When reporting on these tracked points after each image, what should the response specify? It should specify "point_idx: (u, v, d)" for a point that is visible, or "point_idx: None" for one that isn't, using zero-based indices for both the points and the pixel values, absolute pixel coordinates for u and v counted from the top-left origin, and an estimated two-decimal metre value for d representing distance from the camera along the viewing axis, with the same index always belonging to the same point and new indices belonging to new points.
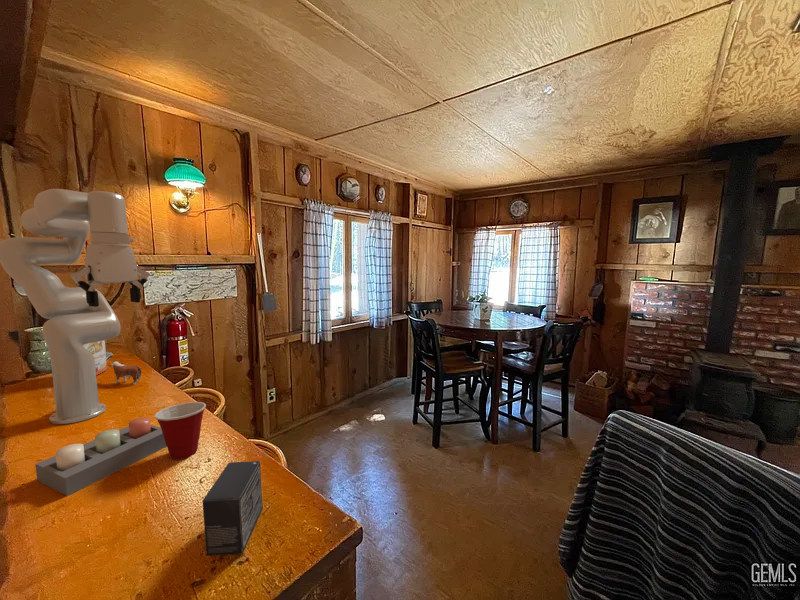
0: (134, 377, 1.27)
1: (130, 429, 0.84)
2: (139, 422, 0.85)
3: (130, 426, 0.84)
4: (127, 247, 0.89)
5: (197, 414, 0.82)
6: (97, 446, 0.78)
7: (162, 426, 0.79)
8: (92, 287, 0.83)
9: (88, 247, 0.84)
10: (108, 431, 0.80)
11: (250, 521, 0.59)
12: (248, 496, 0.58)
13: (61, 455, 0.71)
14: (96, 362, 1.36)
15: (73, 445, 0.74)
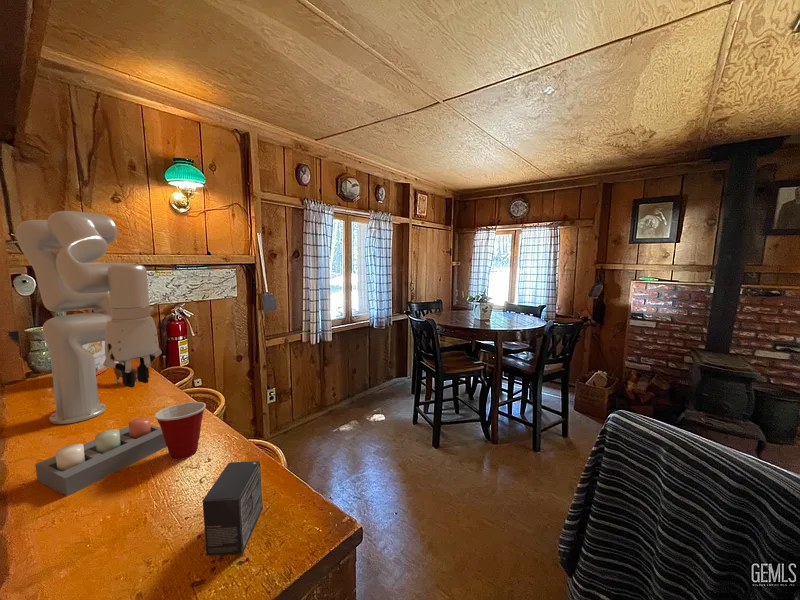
0: (134, 377, 1.27)
1: (130, 429, 0.84)
2: (139, 422, 0.85)
3: (130, 426, 0.84)
4: (148, 319, 0.84)
5: (197, 414, 0.82)
6: (97, 446, 0.78)
7: (162, 426, 0.79)
8: (128, 368, 0.82)
9: (108, 324, 0.79)
10: (108, 431, 0.80)
11: (250, 521, 0.59)
12: (248, 496, 0.58)
13: (61, 455, 0.71)
14: (96, 362, 1.36)
15: (73, 445, 0.74)
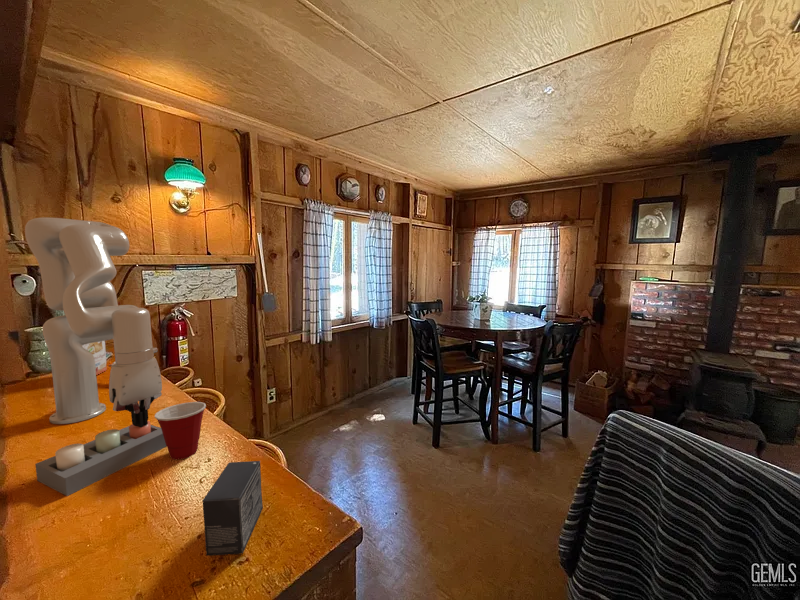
0: None
1: (130, 433, 0.84)
2: None
3: (130, 430, 0.84)
4: (152, 361, 0.85)
5: (197, 414, 0.82)
6: (97, 446, 0.78)
7: (162, 426, 0.79)
8: (138, 409, 0.84)
9: (113, 369, 0.80)
10: (108, 431, 0.80)
11: (250, 521, 0.59)
12: (248, 496, 0.58)
13: (61, 455, 0.71)
14: (96, 362, 1.36)
15: (73, 445, 0.74)
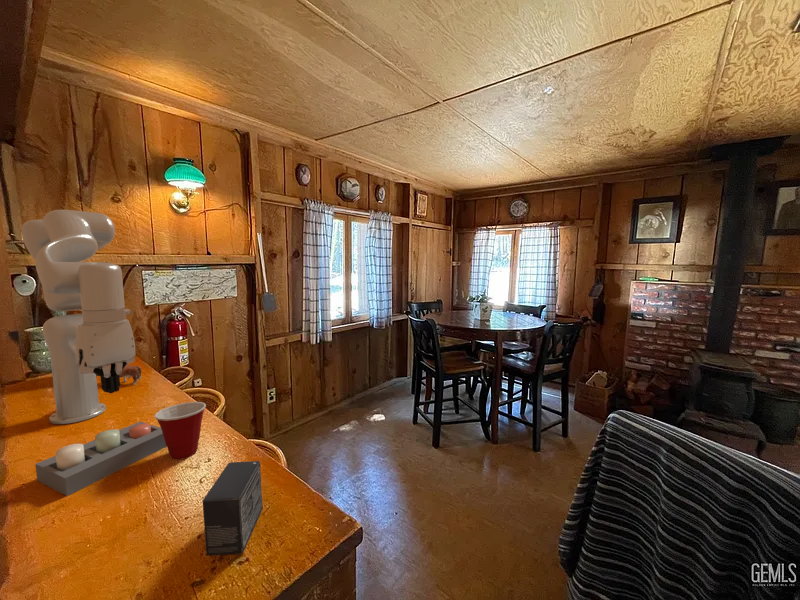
0: (134, 377, 1.27)
1: (131, 436, 0.84)
2: (140, 428, 0.85)
3: (131, 433, 0.84)
4: (124, 322, 0.79)
5: (197, 414, 0.82)
6: (97, 446, 0.78)
7: (162, 426, 0.79)
8: (108, 373, 0.77)
9: (80, 328, 0.73)
10: (108, 431, 0.80)
11: (250, 521, 0.59)
12: (248, 496, 0.58)
13: (61, 455, 0.71)
14: None
15: (73, 445, 0.74)
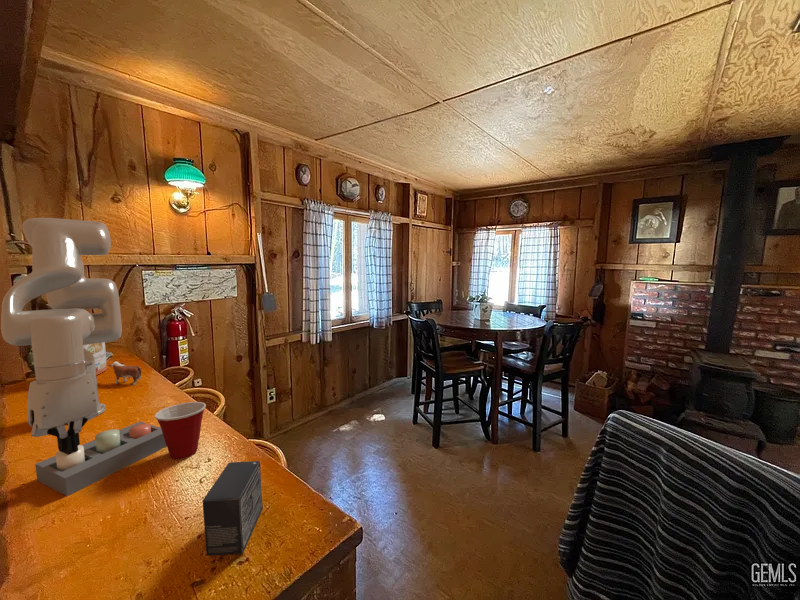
0: (134, 377, 1.27)
1: (131, 436, 0.84)
2: (140, 428, 0.85)
3: (131, 433, 0.84)
4: (83, 376, 0.72)
5: (197, 414, 0.82)
6: (97, 446, 0.78)
7: (162, 426, 0.79)
8: (64, 433, 0.71)
9: (31, 387, 0.67)
10: (108, 431, 0.80)
11: (250, 521, 0.59)
12: (248, 496, 0.58)
13: (62, 457, 0.71)
14: (96, 362, 1.36)
15: None
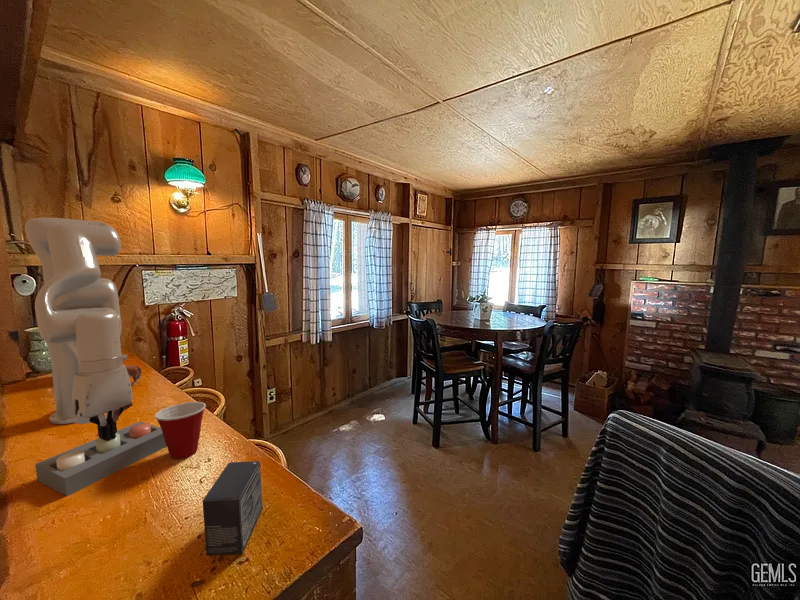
0: (134, 377, 1.27)
1: (131, 436, 0.84)
2: (140, 428, 0.85)
3: (131, 433, 0.84)
4: (120, 369, 0.79)
5: (197, 414, 0.82)
6: (97, 450, 0.78)
7: (162, 426, 0.79)
8: (104, 421, 0.77)
9: (75, 379, 0.73)
10: None
11: (250, 521, 0.59)
12: (248, 496, 0.58)
13: (62, 463, 0.71)
14: None
15: (74, 452, 0.75)
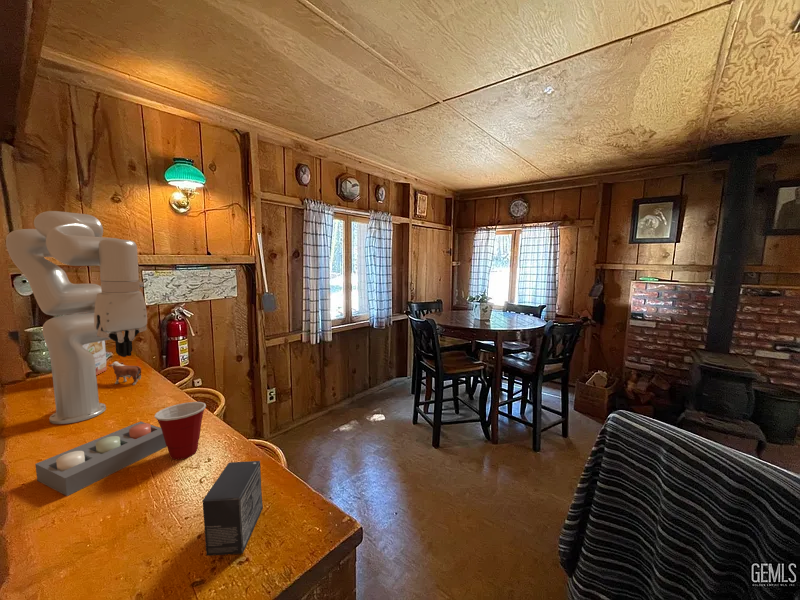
0: (134, 377, 1.27)
1: (131, 436, 0.84)
2: (140, 428, 0.85)
3: (131, 433, 0.84)
4: (137, 294, 0.87)
5: (197, 414, 0.82)
6: None
7: (162, 426, 0.79)
8: (121, 338, 0.86)
9: (98, 296, 0.82)
10: (109, 438, 0.81)
11: (250, 521, 0.59)
12: (248, 496, 0.58)
13: (62, 463, 0.71)
14: (96, 362, 1.36)
15: (74, 452, 0.75)
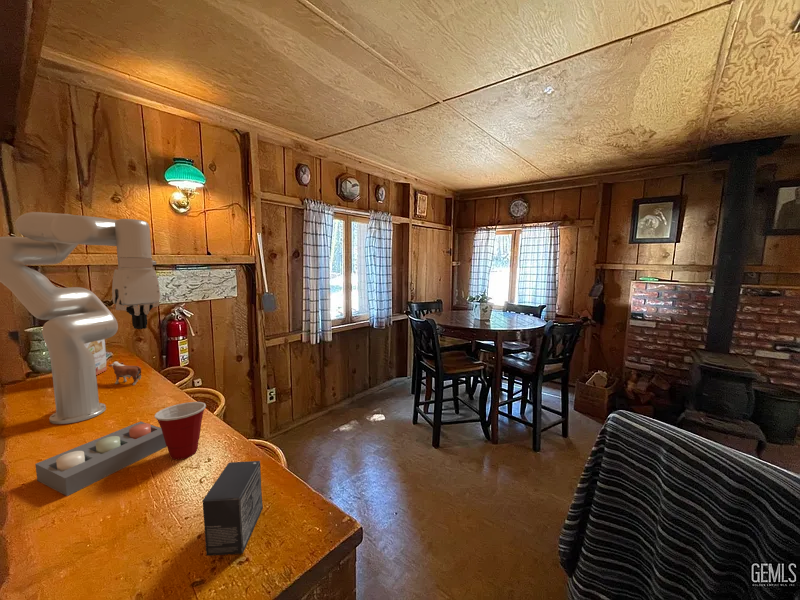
0: (134, 377, 1.27)
1: (131, 436, 0.84)
2: (140, 428, 0.85)
3: (131, 433, 0.84)
4: (151, 270, 0.94)
5: (197, 414, 0.82)
6: None
7: (162, 426, 0.79)
8: (138, 312, 0.93)
9: (116, 272, 0.89)
10: (109, 438, 0.81)
11: (250, 521, 0.59)
12: (248, 496, 0.58)
13: (62, 463, 0.71)
14: (96, 362, 1.36)
15: (74, 452, 0.75)
